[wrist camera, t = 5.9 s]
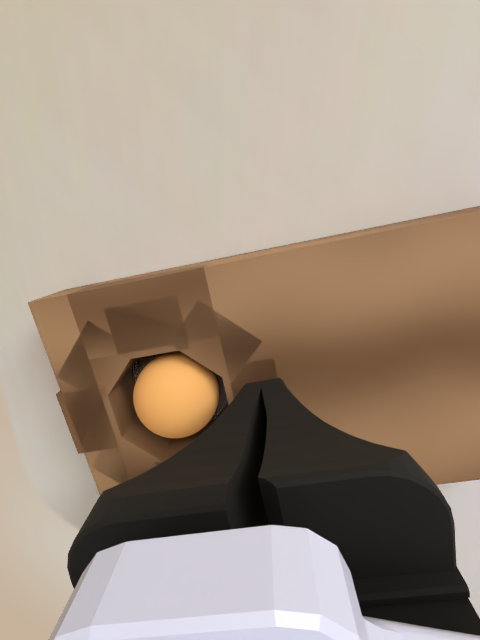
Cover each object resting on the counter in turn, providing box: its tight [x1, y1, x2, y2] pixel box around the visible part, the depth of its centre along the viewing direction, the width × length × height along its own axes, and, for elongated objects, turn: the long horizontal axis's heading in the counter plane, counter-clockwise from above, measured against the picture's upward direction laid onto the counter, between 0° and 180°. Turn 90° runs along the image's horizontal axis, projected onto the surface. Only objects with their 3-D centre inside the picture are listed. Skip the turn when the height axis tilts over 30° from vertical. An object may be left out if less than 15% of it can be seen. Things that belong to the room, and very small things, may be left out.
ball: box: [133, 352, 219, 438], centre depth 14 cm, size 3×3×3 cm
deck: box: [28, 206, 480, 496], centre depth 14 cm, size 10×17×2 cm, turn 101°
